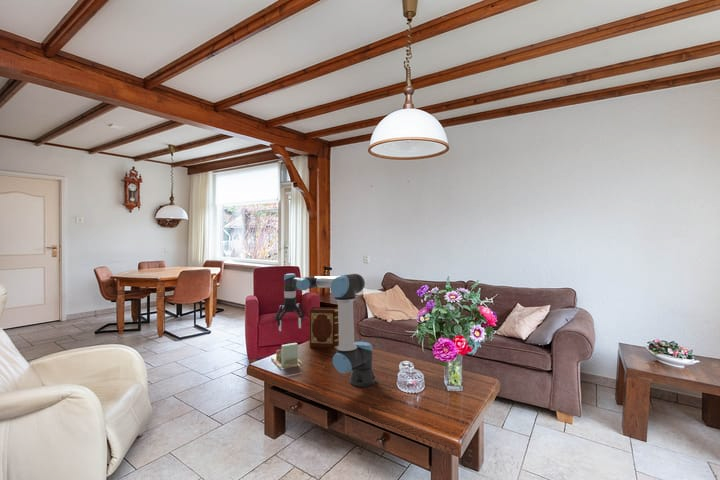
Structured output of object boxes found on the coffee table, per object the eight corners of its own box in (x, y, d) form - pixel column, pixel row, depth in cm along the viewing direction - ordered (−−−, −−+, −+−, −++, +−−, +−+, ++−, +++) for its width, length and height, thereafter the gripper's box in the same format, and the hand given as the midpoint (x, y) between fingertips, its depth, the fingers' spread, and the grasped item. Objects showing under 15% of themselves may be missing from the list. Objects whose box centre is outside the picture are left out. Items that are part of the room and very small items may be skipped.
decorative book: (339, 345, 268) (339, 307, 268) (338, 348, 260) (338, 309, 260) (312, 344, 271) (312, 306, 270) (309, 347, 263) (309, 309, 262)
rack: (271, 361, 234) (271, 351, 233) (291, 357, 241) (291, 347, 241) (280, 371, 216) (280, 360, 216) (302, 366, 224) (302, 356, 224)
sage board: (297, 364, 224) (297, 343, 224) (283, 367, 219) (283, 346, 219) (295, 363, 227) (296, 342, 227) (281, 366, 222) (281, 344, 222)
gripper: (305, 294, 233) (305, 325, 233) (269, 298, 220) (269, 330, 220) (309, 296, 226) (309, 327, 226) (273, 299, 213) (273, 333, 213)
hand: (290, 329), depth 223 cm, fingers open, 13 cm apart
